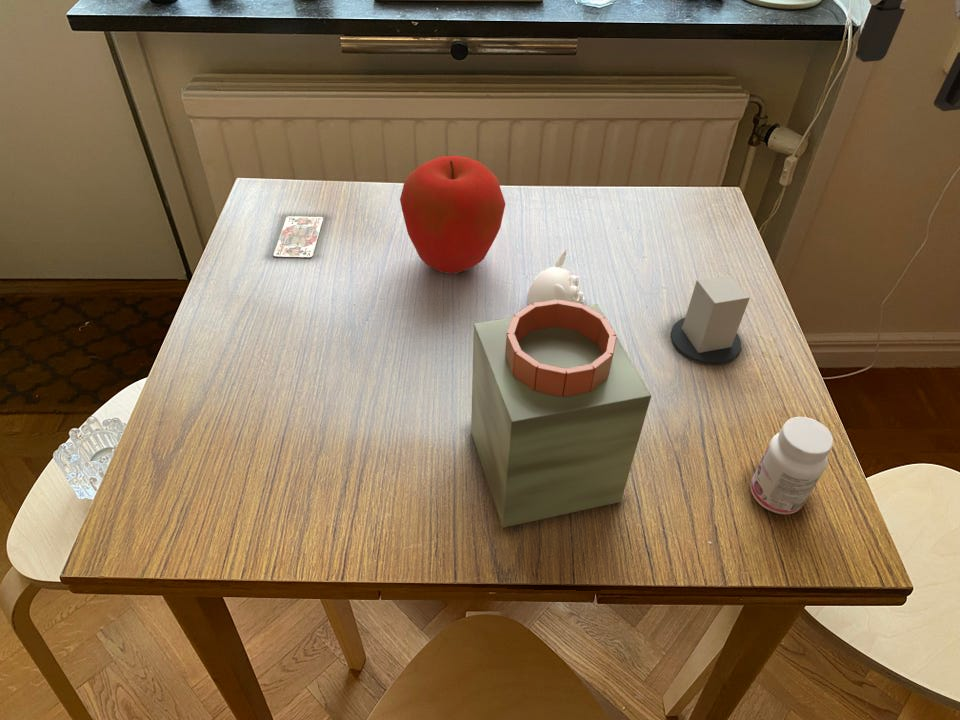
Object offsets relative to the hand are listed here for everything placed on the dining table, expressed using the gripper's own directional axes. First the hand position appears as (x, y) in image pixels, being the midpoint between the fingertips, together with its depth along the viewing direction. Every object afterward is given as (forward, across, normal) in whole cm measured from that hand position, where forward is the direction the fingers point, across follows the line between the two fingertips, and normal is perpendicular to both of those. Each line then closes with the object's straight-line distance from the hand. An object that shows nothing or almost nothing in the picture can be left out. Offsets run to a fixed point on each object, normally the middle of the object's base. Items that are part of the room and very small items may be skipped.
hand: (905, 82), depth 51 cm
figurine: (+32, +16, +18) cm, 40 cm away
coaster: (+32, +8, +3) cm, 33 cm away
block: (+32, +8, +3) cm, 33 cm away
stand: (+32, -4, +26) cm, 42 cm away
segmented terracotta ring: (+18, -4, +26) cm, 32 cm away
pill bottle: (+32, -12, +6) cm, 35 cm away
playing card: (+32, +38, +45) cm, 67 cm away
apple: (+32, +28, +27) cm, 51 cm away
